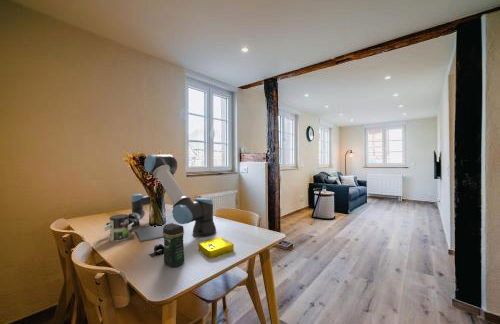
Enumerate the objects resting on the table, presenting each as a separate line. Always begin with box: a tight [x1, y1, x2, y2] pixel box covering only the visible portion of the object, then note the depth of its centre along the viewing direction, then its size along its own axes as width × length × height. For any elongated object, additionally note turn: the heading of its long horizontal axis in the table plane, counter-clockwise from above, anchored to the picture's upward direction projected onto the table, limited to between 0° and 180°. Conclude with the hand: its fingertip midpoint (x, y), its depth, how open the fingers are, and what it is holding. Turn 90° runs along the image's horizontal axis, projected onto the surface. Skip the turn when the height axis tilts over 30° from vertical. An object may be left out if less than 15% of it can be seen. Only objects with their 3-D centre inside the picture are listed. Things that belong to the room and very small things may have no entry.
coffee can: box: [109, 213, 130, 243], centre depth 138 cm, size 10×10×14 cm
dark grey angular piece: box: [147, 243, 164, 258], centre depth 116 cm, size 12×7×5 cm, turn 133°
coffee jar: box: [163, 222, 185, 268], centre depth 105 cm, size 10×8×19 cm
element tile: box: [197, 236, 235, 260], centre depth 118 cm, size 15×15×5 cm
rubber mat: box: [134, 223, 167, 243], centre depth 148 cm, size 26×20×1 cm
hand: (117, 228), depth 135 cm, fingers open, 13 cm apart
